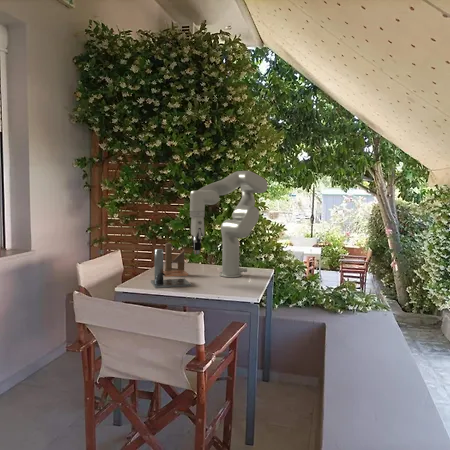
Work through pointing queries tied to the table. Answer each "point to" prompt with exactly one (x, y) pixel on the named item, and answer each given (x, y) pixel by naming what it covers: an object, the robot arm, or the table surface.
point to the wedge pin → (194, 248)
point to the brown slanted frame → (178, 259)
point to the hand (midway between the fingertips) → (196, 249)
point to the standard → (167, 274)
